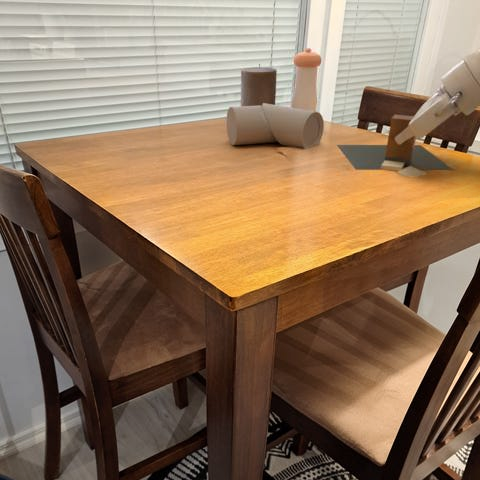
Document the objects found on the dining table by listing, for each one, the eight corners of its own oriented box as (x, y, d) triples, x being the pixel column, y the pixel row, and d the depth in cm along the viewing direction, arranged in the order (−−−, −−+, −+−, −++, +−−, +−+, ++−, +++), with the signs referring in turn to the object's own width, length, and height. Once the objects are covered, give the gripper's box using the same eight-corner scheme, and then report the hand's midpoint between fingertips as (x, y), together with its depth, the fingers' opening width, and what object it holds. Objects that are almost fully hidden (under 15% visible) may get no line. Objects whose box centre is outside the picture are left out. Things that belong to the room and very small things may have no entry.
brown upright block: (411, 162, 104) (420, 116, 99) (408, 167, 101) (417, 120, 96) (387, 159, 106) (394, 114, 101) (383, 163, 103) (391, 118, 98)
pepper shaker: (304, 124, 139) (310, 46, 129) (321, 129, 134) (329, 48, 123) (283, 127, 136) (288, 47, 125) (300, 132, 131) (306, 50, 120)
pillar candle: (280, 122, 141) (283, 63, 133) (263, 128, 134) (265, 66, 126) (251, 118, 145) (252, 61, 137) (233, 124, 138) (233, 64, 130)
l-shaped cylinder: (298, 128, 128) (224, 133, 123) (304, 86, 121) (226, 89, 116) (326, 161, 117) (245, 168, 112) (335, 117, 109) (249, 122, 104)
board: (419, 149, 117) (420, 145, 117) (452, 174, 100) (454, 169, 100) (336, 149, 117) (336, 144, 116) (355, 174, 100) (355, 169, 99)
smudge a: (403, 166, 101) (404, 162, 101) (401, 171, 98) (401, 167, 98) (384, 164, 103) (384, 160, 102) (380, 169, 100) (381, 165, 99)
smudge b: (409, 169, 100) (410, 165, 99) (425, 176, 97) (426, 172, 97) (395, 175, 98) (396, 171, 98) (411, 183, 96) (412, 179, 95)
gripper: (469, 113, 85) (400, 163, 94) (474, 95, 101) (414, 140, 109) (448, 82, 84) (380, 136, 93) (456, 70, 100) (397, 116, 108)
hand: (399, 138), depth 101 cm, fingers closed on brown upright block, 4 cm apart
